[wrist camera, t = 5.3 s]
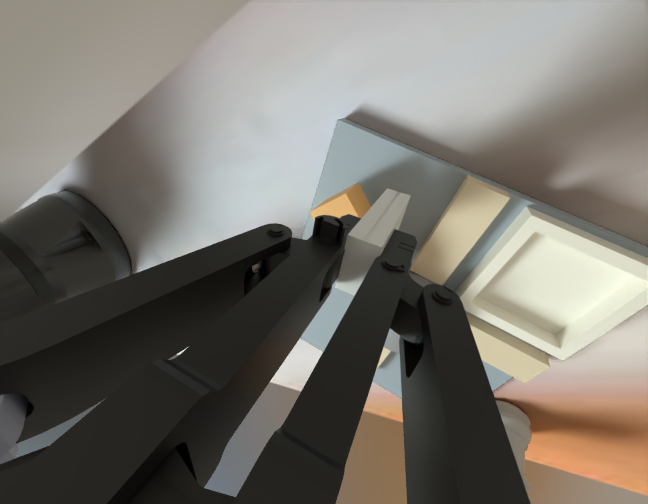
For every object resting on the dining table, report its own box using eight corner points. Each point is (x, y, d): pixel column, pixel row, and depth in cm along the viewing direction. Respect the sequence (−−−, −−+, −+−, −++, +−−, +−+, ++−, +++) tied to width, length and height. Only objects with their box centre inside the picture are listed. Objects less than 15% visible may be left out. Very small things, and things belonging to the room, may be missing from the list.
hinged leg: (446, 326, 20) (444, 351, 18) (391, 334, 22) (385, 357, 20) (369, 176, 17) (357, 187, 15) (316, 204, 20) (300, 216, 18)
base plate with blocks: (282, 316, 32) (264, 339, 29) (343, 118, 19) (322, 122, 16) (445, 413, 28) (444, 450, 25) (660, 251, 15) (705, 288, 12)
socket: (454, 292, 20) (453, 304, 19) (526, 205, 16) (531, 215, 15) (556, 343, 19) (563, 360, 18) (665, 265, 15) (683, 281, 13)
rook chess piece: (543, 419, 24) (572, 538, 17) (504, 435, 26) (517, 544, 20) (495, 389, 24) (507, 494, 18) (462, 408, 27) (462, 505, 21)
